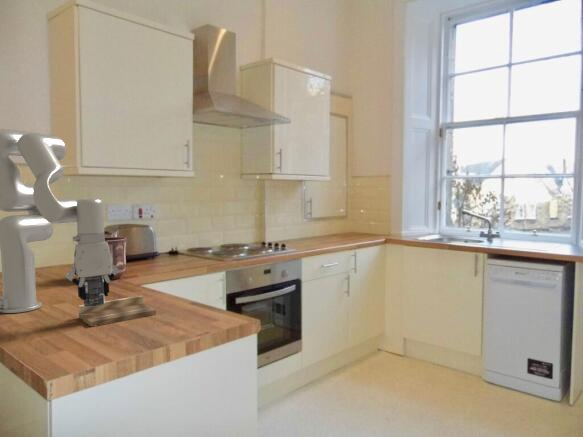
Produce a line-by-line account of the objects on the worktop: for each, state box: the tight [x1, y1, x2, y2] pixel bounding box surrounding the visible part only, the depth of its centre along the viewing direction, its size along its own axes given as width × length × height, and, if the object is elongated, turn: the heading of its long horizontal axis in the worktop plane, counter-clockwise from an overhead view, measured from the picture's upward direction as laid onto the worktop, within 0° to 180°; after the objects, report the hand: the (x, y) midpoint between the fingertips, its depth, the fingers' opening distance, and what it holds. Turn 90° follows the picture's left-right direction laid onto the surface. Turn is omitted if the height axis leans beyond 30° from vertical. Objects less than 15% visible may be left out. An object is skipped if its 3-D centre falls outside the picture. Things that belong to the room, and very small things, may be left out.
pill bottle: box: [83, 276, 106, 307], centre depth 138 cm, size 6×6×11 cm
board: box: [78, 295, 157, 327], centre depth 143 cm, size 20×12×4 cm, turn 130°
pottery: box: [105, 236, 128, 281], centre depth 202 cm, size 18×18×18 cm
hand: (94, 296), depth 139 cm, fingers closed on pill bottle, 5 cm apart
